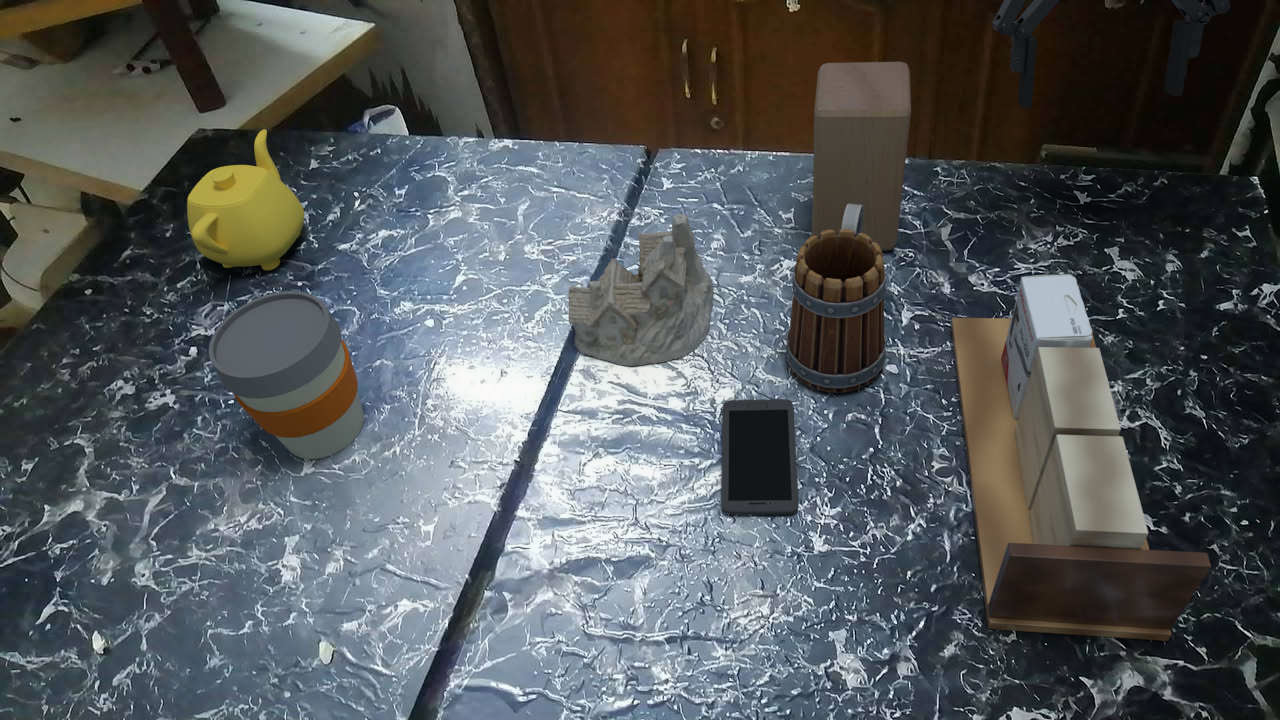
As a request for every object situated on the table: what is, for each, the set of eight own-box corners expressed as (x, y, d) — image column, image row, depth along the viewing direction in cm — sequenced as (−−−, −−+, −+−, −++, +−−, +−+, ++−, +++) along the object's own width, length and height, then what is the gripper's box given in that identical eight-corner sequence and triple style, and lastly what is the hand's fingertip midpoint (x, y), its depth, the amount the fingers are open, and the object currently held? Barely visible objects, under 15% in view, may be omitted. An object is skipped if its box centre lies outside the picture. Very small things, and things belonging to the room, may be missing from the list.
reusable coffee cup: (264, 406, 106) (204, 312, 95) (371, 370, 108) (324, 274, 97) (272, 488, 98) (207, 397, 87) (388, 448, 100) (339, 353, 89)
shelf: (1086, 326, 99) (1117, 231, 90) (1167, 641, 76) (1222, 557, 66) (950, 325, 102) (966, 232, 92) (987, 629, 78) (1015, 546, 68)
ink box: (998, 356, 97) (1019, 272, 88) (1048, 356, 96) (1073, 271, 87) (1013, 421, 91) (1036, 338, 82) (1065, 421, 90) (1094, 337, 81)
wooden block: (895, 201, 117) (910, 57, 103) (896, 254, 111) (912, 108, 96) (815, 200, 119) (818, 59, 105) (811, 252, 113) (814, 108, 98)
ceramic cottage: (727, 273, 112) (709, 173, 101) (696, 377, 102) (673, 279, 91) (606, 267, 116) (577, 171, 106) (565, 366, 107) (528, 272, 96)
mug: (877, 404, 96) (887, 299, 85) (776, 387, 99) (774, 284, 88) (898, 301, 105) (910, 195, 94) (805, 289, 108) (807, 185, 98)
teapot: (339, 201, 132) (305, 126, 123) (273, 297, 119) (231, 221, 110) (256, 197, 135) (218, 124, 126) (184, 291, 122) (135, 217, 113)
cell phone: (793, 402, 97) (793, 397, 96) (799, 515, 88) (799, 511, 87) (722, 404, 98) (722, 399, 97) (721, 516, 89) (720, 511, 88)
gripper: (1264, -164, 82) (1221, 79, 92) (969, -129, 87) (959, 100, 96) (1305, -165, 76) (1254, 97, 86) (984, -126, 80) (971, 119, 90)
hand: (1097, 99), depth 91 cm, fingers open, 13 cm apart
